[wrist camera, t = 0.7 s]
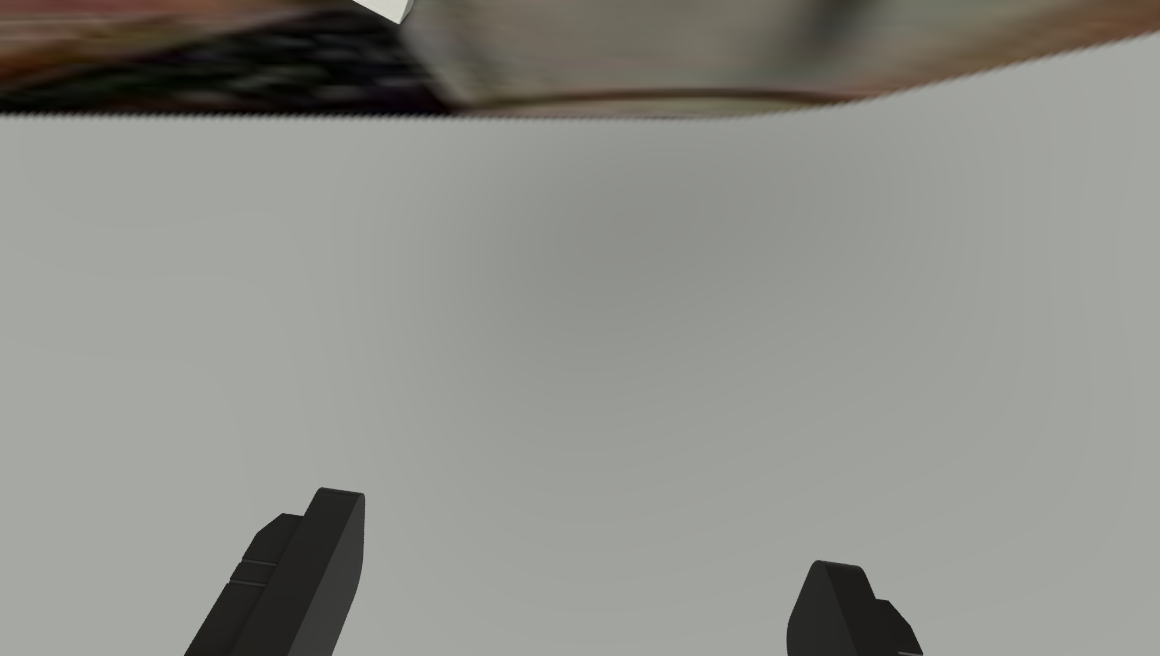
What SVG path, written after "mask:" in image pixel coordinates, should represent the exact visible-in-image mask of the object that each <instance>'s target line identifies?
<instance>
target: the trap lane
mask: <svg viewBox="0 0 1160 656" xmlns="http://www.w3.org/2000/svg"><path fill="white" fill-rule="evenodd" d="M353 1H355V2H357V3H359V4H361V5H363V6H365V7H367V8H369V9H370V10H372V11H374V12H376V13H378V14H380V15H382V16H384V17H386V18H388V19H390V20H392V21H393V22H395V23H397V24H400V23H401V21H402V20H403V19H404V18H405V17H406V15H407V14H408V13H409V12H410V10H411V8H412V5H413V3H414V0H353Z"/></svg>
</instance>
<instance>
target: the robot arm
mask: <svg viewBox="0 0 1160 656" xmlns="http://www.w3.org/2000/svg"><path fill="white" fill-rule="evenodd" d="M364 519H365V496H364V494H363V493H358V492H351V491H344V490H336V489H329V488H323V487H321V488H319V489H318V491H317V492H316V494H315V496H314V498H313V499H312V501H311V503H310V505H309V508H308V509H307V511H306V513H305V514H304V516H299V515H292V514H285V513H282V514H281V515H279V516H278V517H277V518H276V519H274V520H273V521H272V522H270V523H269V524H268V525H267V526H265V527H264V528H263V529H261V530H260V531H259V532H258V533H257V534H256V536H255V537H254V539H253V541H252V542H251V544H250V546H249V547H248V549H247V551H246V552H245V554H244V556H243V557H242V561H241V563H239V564H238V566H237V567H236V569H235V571H234V572H233V574H232V576H231V577H230V581H229V584H228V583H227V584H226V586H225V587H224V589H223V591H222V593H221V594H220V596H219V598H218V599H217V601H216V603H215V604H214V606H213V608H212V609H211V611H210V613H209V615H208V616H207V618H206V619H205V621H204V623H203V624H202V626H201V628H200V629H199V631H198V633H197V634H196V636H195V638H194V639H193V641H192V643H191V644H190V646H189V648H188V649H187V651H186V653H185V655H184V656H332V653H333V651H334V648H335V645H336V643H337V640H338V638H339V635H340V633H341V630H342V627H343V625H344V622H345V620H346V617H347V614H348V612H349V609H350V607H351V604H352V601H353V599H354V596H355V593H356V590H357V587H358V584H359V579H360V575H361V570H362V563H363V547H364V546H363V545H364ZM787 653H788V656H923V652H922V650H921V648H920V645H919V643H918V641H917V639H916V637H915V634H914V632H913V630H912V628H911V626H910V625H909V624H908V623H907V621H906V620H905V619H904V618H903V617H902V616H901V615H900V613H899V612H898V611H897V610H896V609H895V608H894V607H893V605H892V604H891V603H890V602H889V601H887V600H880V599H876V598H875V596H874V593H873V591H872V588H871V586H870V584H869V581H868V579H867V577H866V575H865V573H864V571H863V569H862V568H861V567H859V566H855V565H848V564H841V563H834V562H827V561H820V560H817V561H815V562H814V563H813V564H812V566H811V568H810V570H809V573H808V575H807V577H806V580H805V582H804V585H803V587H802V589H801V592H800V594H799V597H798V599H797V602H796V604H795V606H794V609H793V611H792V614H791V616H790V619H789V623H788V628H787Z"/></svg>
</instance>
